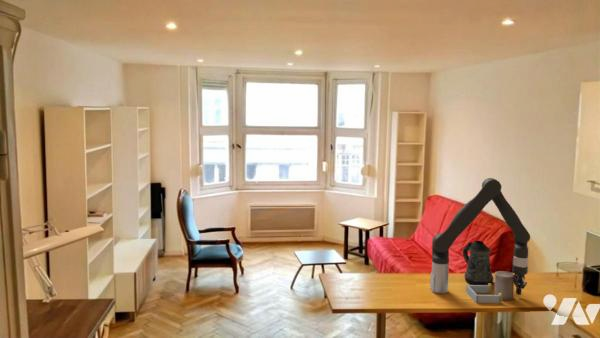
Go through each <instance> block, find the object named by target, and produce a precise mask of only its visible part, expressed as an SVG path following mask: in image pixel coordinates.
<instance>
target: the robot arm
mask: <svg viewBox="0 0 600 338" xmlns="http://www.w3.org/2000/svg"><path fill="white" fill-rule="evenodd" d="M491 201H492V202H493V204H494V205H495V206H496V208H497V210H498V212H499V213H500V214H501V215H500V216H501V217H502V218H503V221H505V223H506V225H507V227H509V228H510V229H511V232H512V233H513V242H514V243H513V244H514V249H513V258H512V272H513V274H514V286H515V288H516V289H515V293H516V295H518V296H521V295H522V290H524V289H525V287H526V286H527V284H528V282H527V281H525V280H526V279H525V278H526V276H525V275H528V270H529V247H528V242H529V241H530V240H531V234H530V232H529V231H528V230H527V228H526V227H525V226H524V224H523V223H522V221H521V219H520V217H519V216H518V214H517V213H516V211H515V210H514V208H512V206H511V204H510V203H509V202H508V201H507V199H506V197H505V196H504V195H503V192H502V184H501V182H500V181H499V180H498V179H497V178H496V179H495V178H493V177H488V178H486V179H484V180H483V181H482V184H481V189H480V191H478V193H477V194H476V195H475V196H474V197H473V198H472V199H470V200H469V201H467V202H466V203H465V204H464V205H463V206H462V207H461V208H460V209H459V210H458V211H457V212H456V213H455V214H454V217H453V218H452V219H451V222H450V224H449V225H448V226H447V228H446V229H445V230H444V231H443V232H442V233H437V234H435V235H434V236H433V238H432V242H431V244H432V245H431V254H432V255H431V259H432V261H431V273H430V283H429V285H430V288H429V289H430V290H431V292H432V293H435V294H446V293H448V292H449V269H450V256H449V252H450V250H449V249H450V248H451V247H452V245H454V242H455V241H456V239H457V238H458V237H459V236H460V235H461V234H462V233H463V232H464V231H465V230H467V228H468V227H469V226H470V225H471V224H472V223H473V221H474V220H476V218H477V217H478V216H479V215H480V213H481V212H482V211H483V210H484V208H485V207H486V206H487V205H488V204H489V203H490V202H491Z"/></svg>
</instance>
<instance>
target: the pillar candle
mask: <svg viewBox="0 0 600 338" xmlns="http://www.w3.org/2000/svg"><path fill="white" fill-rule="evenodd" d="M514 274H515V273H512V272H510V271H504V270H499V271H495V272H494V294H493V295H499V293H502V299H501V301H506V302H507V301H513V300H514V287H515V285H514Z"/></svg>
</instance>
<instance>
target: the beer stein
mask: <svg viewBox="0 0 600 338" xmlns="http://www.w3.org/2000/svg"><path fill="white" fill-rule="evenodd" d="M468 251H469V252H468ZM491 252H492V251H491V248H490V247H489V246H487V245H486V244H485V243H484V241H482V240H474V242H473V241H470V242H468V243H467V245H465V246H463V249H462V256H463V259H464V262H465V263H466V264H467V267H466V269H465V273H464V280H465V282H466V283H467V284H468V285H488V283H491V286H492V285H493V282H494V276H493V273H492V267H491V261H490V259H491V258H490V254H491ZM468 253H469V254H468Z"/></svg>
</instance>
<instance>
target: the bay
mask: <svg viewBox="0 0 600 338" xmlns="http://www.w3.org/2000/svg"><path fill="white" fill-rule="evenodd" d="M465 293H466V294H467V295H468V296H469V297H470V298H471V299H472V300H473V302H474V303H477V304H484V303H485V304H501V303H502V300H501V299H502V293H499V295H494V294H491V293H492V285H491V283H488V285H472V284H466V285H465ZM478 293H479V294H478ZM480 293H481V294H480ZM482 293H483V294H482ZM486 293H487V294H486Z"/></svg>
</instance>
